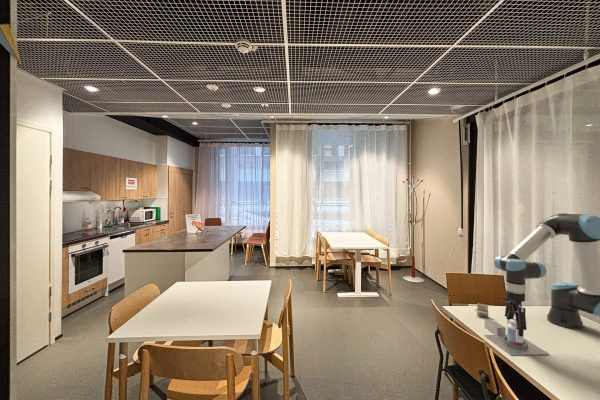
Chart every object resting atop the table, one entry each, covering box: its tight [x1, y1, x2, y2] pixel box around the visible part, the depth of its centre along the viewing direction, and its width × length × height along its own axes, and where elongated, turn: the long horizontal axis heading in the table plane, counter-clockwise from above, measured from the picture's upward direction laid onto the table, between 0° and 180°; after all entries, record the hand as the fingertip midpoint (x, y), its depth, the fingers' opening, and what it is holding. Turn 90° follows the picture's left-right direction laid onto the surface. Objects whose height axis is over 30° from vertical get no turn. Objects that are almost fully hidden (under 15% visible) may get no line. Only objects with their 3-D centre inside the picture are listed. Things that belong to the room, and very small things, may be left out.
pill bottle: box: [506, 318, 523, 345], centre depth 138 cm, size 6×6×11 cm
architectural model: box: [474, 302, 489, 318], centre depth 172 cm, size 3×7×7 cm, turn 56°
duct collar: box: [483, 318, 550, 356], centre depth 143 cm, size 18×28×4 cm, turn 1°
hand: (514, 337), depth 138 cm, fingers open, 8 cm apart
